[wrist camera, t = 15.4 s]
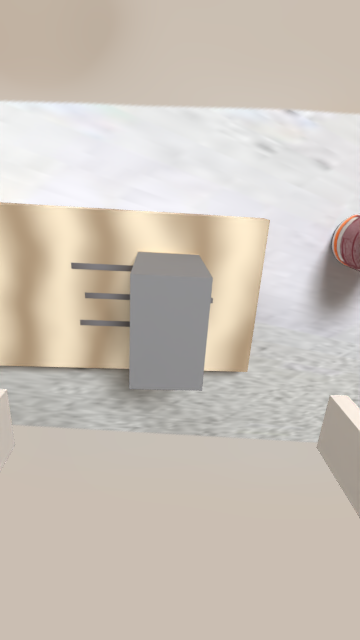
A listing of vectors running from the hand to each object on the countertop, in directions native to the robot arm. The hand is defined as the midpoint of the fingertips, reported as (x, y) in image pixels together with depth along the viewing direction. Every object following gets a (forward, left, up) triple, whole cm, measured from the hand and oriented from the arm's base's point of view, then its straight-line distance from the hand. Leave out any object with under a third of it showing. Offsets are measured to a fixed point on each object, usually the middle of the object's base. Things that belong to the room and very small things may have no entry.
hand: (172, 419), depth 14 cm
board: (-5, -3, -19) cm, 19 cm away
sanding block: (0, 0, -17) cm, 17 cm away
